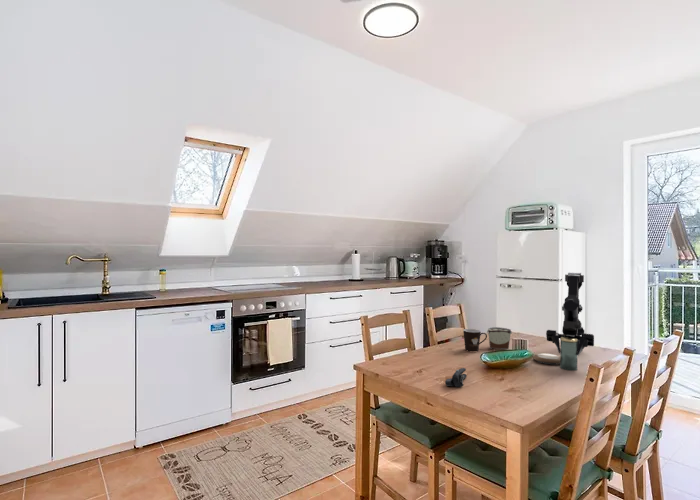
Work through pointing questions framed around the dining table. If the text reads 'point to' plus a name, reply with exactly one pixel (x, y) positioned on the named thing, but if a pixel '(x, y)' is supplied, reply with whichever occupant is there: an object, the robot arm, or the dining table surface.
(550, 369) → the dining table surface
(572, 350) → the tea tin
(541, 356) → the turntable
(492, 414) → the dining table surface
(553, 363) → the turntable base
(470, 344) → the coffee mug
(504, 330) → the food container
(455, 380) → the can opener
